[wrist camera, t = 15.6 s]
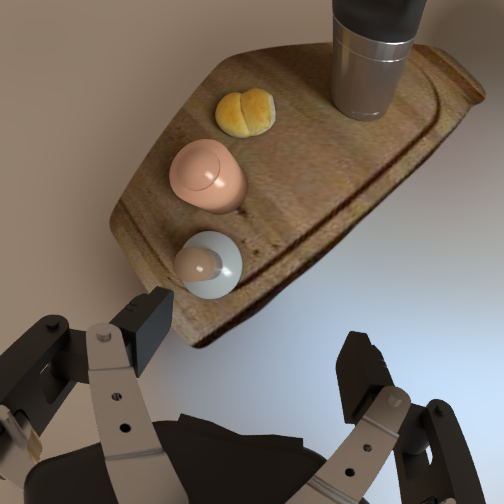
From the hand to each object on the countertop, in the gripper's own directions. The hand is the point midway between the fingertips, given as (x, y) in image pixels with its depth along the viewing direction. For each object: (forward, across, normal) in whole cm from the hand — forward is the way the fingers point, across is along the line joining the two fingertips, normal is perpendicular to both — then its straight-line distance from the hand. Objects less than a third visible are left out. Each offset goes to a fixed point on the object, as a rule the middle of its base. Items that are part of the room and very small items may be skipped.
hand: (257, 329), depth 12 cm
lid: (+26, +7, +8) cm, 28 cm away
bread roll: (+33, +7, -13) cm, 37 cm away
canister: (+29, +8, -2) cm, 31 cm away
